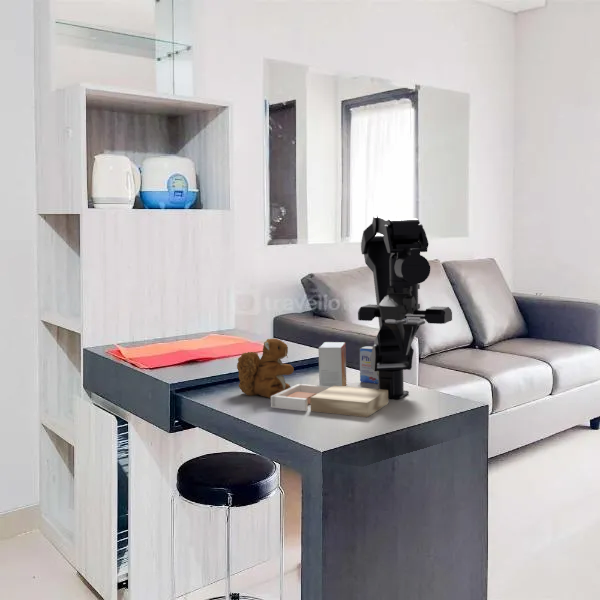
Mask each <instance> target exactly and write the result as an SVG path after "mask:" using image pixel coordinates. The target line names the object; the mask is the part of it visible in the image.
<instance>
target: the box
mask: <svg viewBox="0 0 600 600" xmlns="http://www.w3.org/2000/svg"><path fill="white" fill-rule="evenodd" d="M328 388H330V387H329V386H320V385H319V384H318V385H316V384H305V383H297V384H295V385H293V386H290V388H288V389H286V390H283V391H281V392H279V393H277V394H275V395H272V396H271V398H270V408H273V409H280V410H281V409H282V410H291V411H299V412H300V411H301V412H307V411H308V410H309V409H308V406H309V404H308V402H307V399H306V398H296V397H286V396H288V395H290V394H293V393H295V392H306V393H316V394H318V393H320V392H322V391H324V390H326V389H328Z"/></svg>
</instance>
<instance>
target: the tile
mask: <svg viewBox="0 0 600 600" xmlns="http://www.w3.org/2000/svg"><path fill="white" fill-rule="evenodd" d="M314 395H316V393H306V392H295V393H293V394H290V395H288V396H286V397H296V398H306V399H307V402H308V405H311V399H310V397H312V396H314Z"/></svg>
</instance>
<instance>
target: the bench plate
mask: <svg viewBox="0 0 600 600" xmlns="http://www.w3.org/2000/svg"><path fill="white" fill-rule="evenodd" d="M310 399H311V403H310V411H311V412H315V413H316V412H317V413H327V414H334V415H343V416H345V415H346V416H353V417H360V418H361V417H363V418H369V417H370V416H371V415H373V414H375V413H376V412H378V411H379V410H380V409H382V408H384V407H385V406H387V405H388V404H389V398H388V390H382V389H378V388H367V387H358V386H357V387H356V386H348V385H347V386H346V385H345V386H336V385H334V386H332V387H330V388H328V389H326V390H324V391H322V392H320V393H318V394H316V395H314V396H312V397H310Z"/></svg>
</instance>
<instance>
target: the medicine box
mask: <svg viewBox="0 0 600 600" xmlns="http://www.w3.org/2000/svg"><path fill="white" fill-rule="evenodd" d="M372 348H373V345H372V346H369V345H368V346H362V347H360V348H359V382H361V383H363V384H371V385H372V384H375V385H378V371H374V370H373V369H372V368H371V362H370V358H371V353H372ZM377 364H379V363H377Z"/></svg>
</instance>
